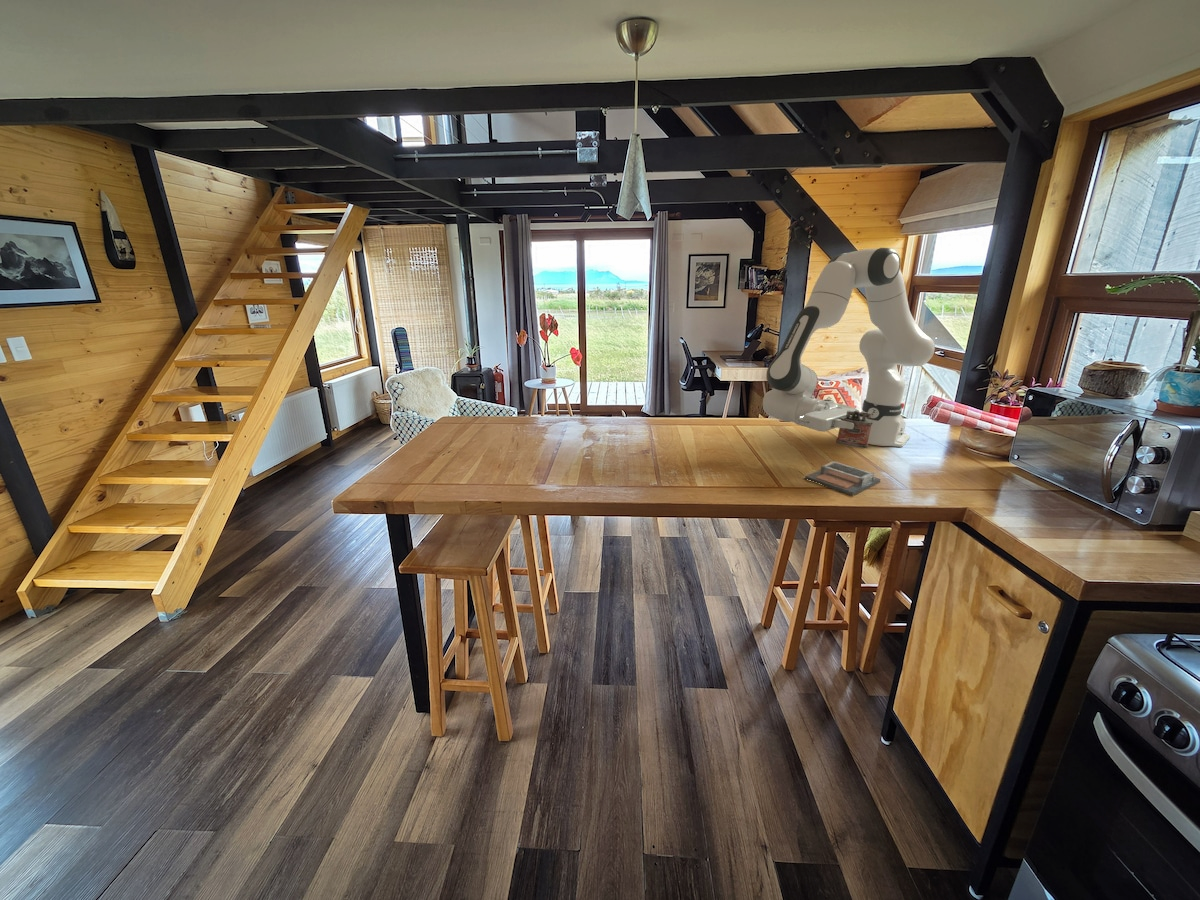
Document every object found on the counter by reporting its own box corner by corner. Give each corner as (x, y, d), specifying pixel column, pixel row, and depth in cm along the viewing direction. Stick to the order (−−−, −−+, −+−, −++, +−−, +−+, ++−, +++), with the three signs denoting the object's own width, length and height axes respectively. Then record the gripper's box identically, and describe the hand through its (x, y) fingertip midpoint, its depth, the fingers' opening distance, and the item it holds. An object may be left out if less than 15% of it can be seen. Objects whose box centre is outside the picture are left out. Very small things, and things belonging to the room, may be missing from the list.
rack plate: (832, 467, 150) (834, 458, 149) (879, 482, 139) (882, 472, 138) (804, 479, 140) (806, 469, 139) (852, 496, 130) (855, 486, 129)
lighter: (835, 443, 138) (841, 410, 135) (836, 440, 141) (843, 407, 137) (866, 449, 134) (874, 414, 131) (867, 445, 137) (875, 411, 134)
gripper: (795, 408, 138) (842, 419, 128) (831, 398, 150) (878, 408, 139) (791, 429, 140) (838, 442, 130) (828, 418, 152) (873, 429, 142)
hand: (859, 424), depth 135 cm, fingers closed on lighter, 4 cm apart
